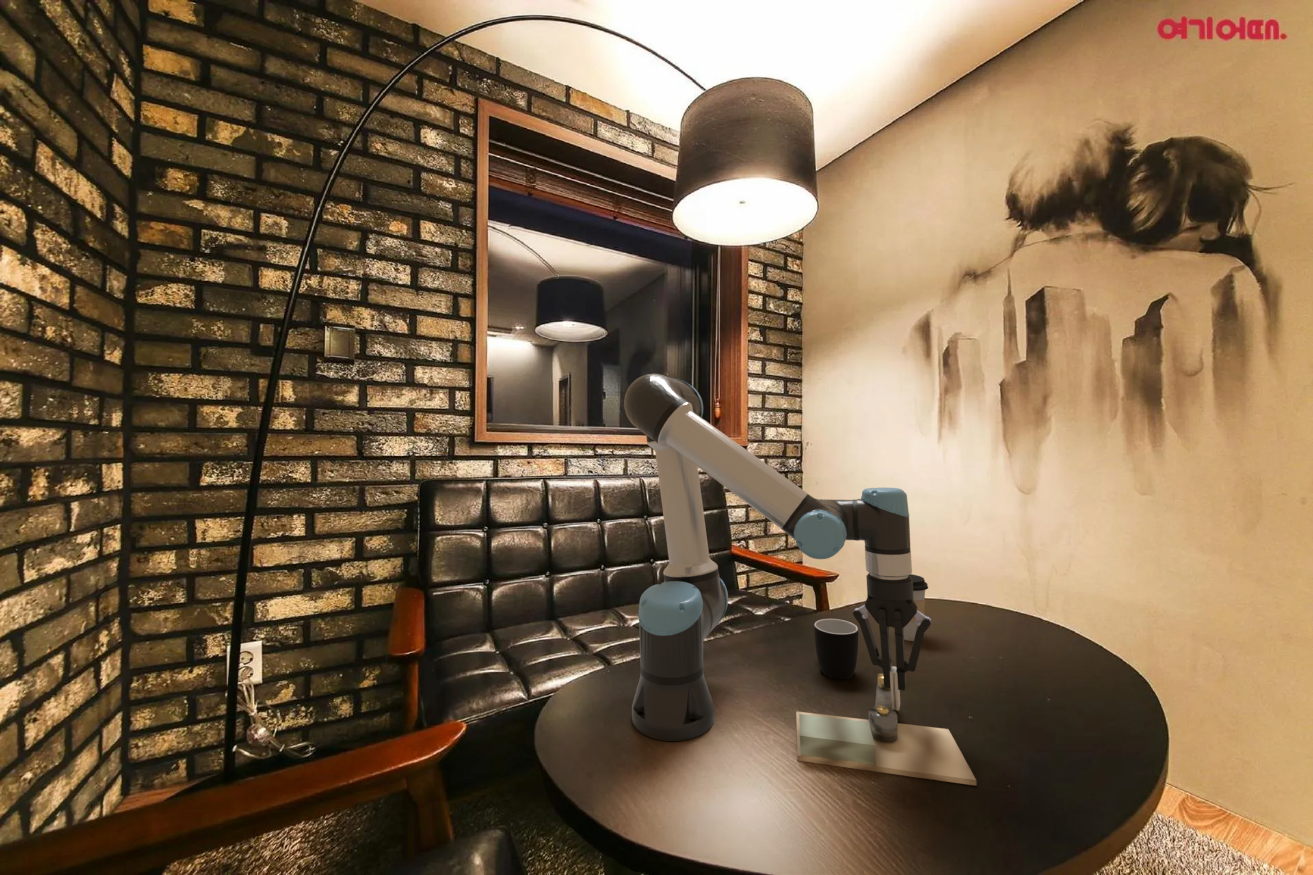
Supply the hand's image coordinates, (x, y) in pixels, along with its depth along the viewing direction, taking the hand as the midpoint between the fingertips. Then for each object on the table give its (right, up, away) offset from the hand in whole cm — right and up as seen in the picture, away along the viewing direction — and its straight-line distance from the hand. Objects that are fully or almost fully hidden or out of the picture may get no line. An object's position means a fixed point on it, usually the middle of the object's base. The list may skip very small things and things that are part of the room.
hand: (896, 706), depth 88 cm
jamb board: (-7, -3, -7) cm, 10 cm away
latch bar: (-3, -2, -1) cm, 3 cm away
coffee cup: (+21, -3, +37) cm, 43 cm away
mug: (-4, -3, +20) cm, 21 cm away
